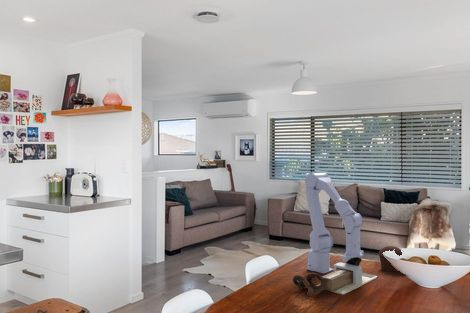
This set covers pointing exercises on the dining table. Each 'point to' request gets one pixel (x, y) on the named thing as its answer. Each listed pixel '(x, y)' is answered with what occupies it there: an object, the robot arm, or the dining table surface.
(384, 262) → the muffin
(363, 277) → the tunnel
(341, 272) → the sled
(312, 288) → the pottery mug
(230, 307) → the dining table surface
